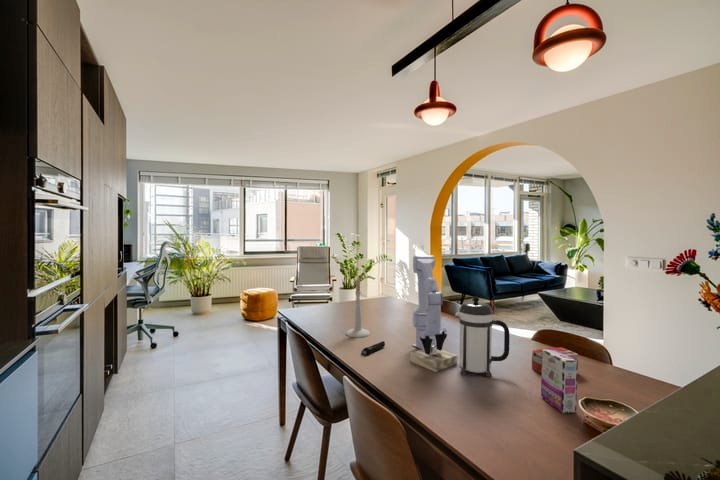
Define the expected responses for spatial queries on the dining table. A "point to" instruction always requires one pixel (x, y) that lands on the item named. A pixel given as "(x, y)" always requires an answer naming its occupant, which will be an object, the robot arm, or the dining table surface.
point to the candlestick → (357, 318)
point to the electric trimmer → (373, 348)
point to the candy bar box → (559, 380)
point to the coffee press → (478, 337)
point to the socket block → (433, 359)
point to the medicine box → (538, 357)
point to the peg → (433, 351)
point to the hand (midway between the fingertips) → (433, 351)
